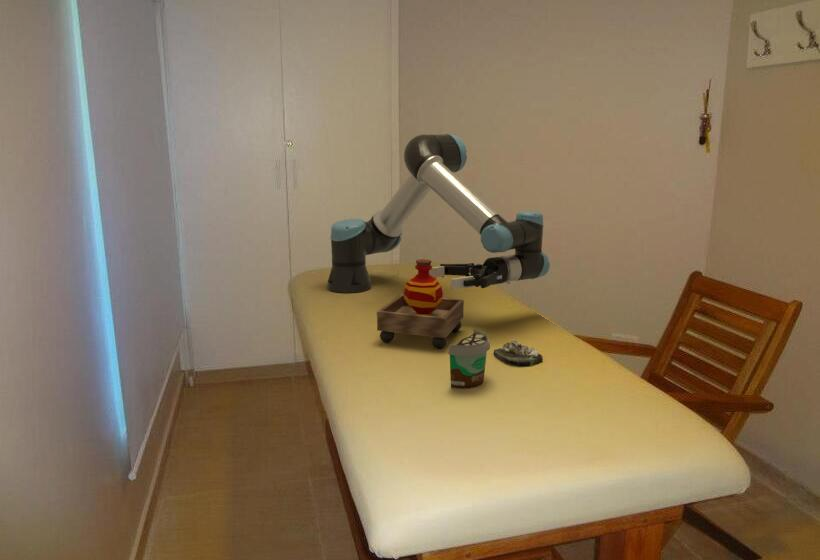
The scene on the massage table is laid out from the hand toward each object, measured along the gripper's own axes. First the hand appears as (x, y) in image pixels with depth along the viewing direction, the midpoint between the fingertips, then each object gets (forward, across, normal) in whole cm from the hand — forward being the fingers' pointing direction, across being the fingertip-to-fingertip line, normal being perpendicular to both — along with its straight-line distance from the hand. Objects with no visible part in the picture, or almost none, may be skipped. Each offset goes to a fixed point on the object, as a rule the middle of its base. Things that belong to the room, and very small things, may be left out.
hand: (437, 278), depth 158 cm
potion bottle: (+4, 0, -10) cm, 11 cm away
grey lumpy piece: (-7, -25, -16) cm, 30 cm away
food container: (+10, -31, -16) cm, 36 cm away
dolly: (+4, 0, -15) cm, 16 cm away
